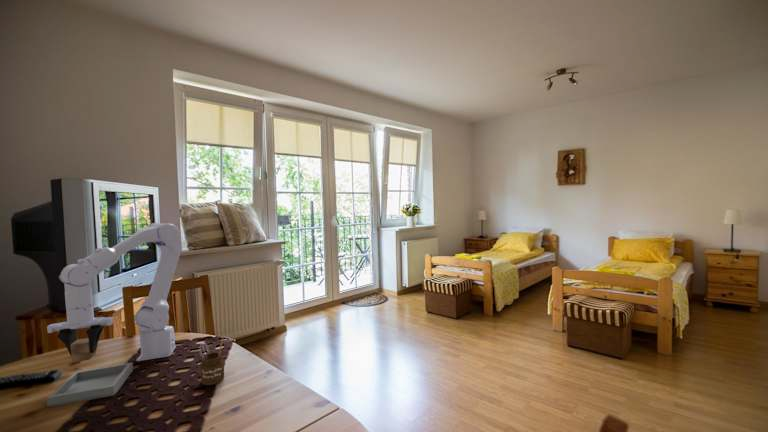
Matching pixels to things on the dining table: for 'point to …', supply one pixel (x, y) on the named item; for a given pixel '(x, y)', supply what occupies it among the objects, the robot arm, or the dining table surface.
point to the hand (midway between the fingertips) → (83, 352)
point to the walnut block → (81, 350)
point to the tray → (90, 384)
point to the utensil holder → (212, 367)
